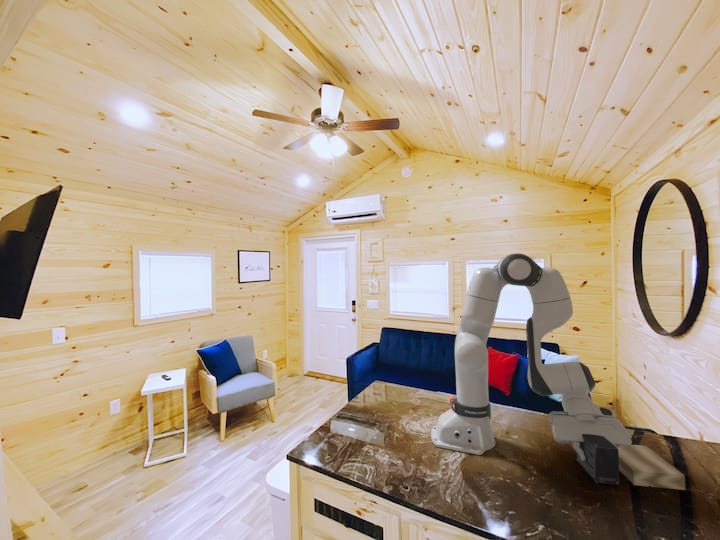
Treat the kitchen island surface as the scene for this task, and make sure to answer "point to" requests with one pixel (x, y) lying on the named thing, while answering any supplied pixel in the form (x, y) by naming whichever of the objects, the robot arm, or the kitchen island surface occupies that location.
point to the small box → (600, 459)
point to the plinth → (649, 468)
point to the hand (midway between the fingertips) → (600, 461)
